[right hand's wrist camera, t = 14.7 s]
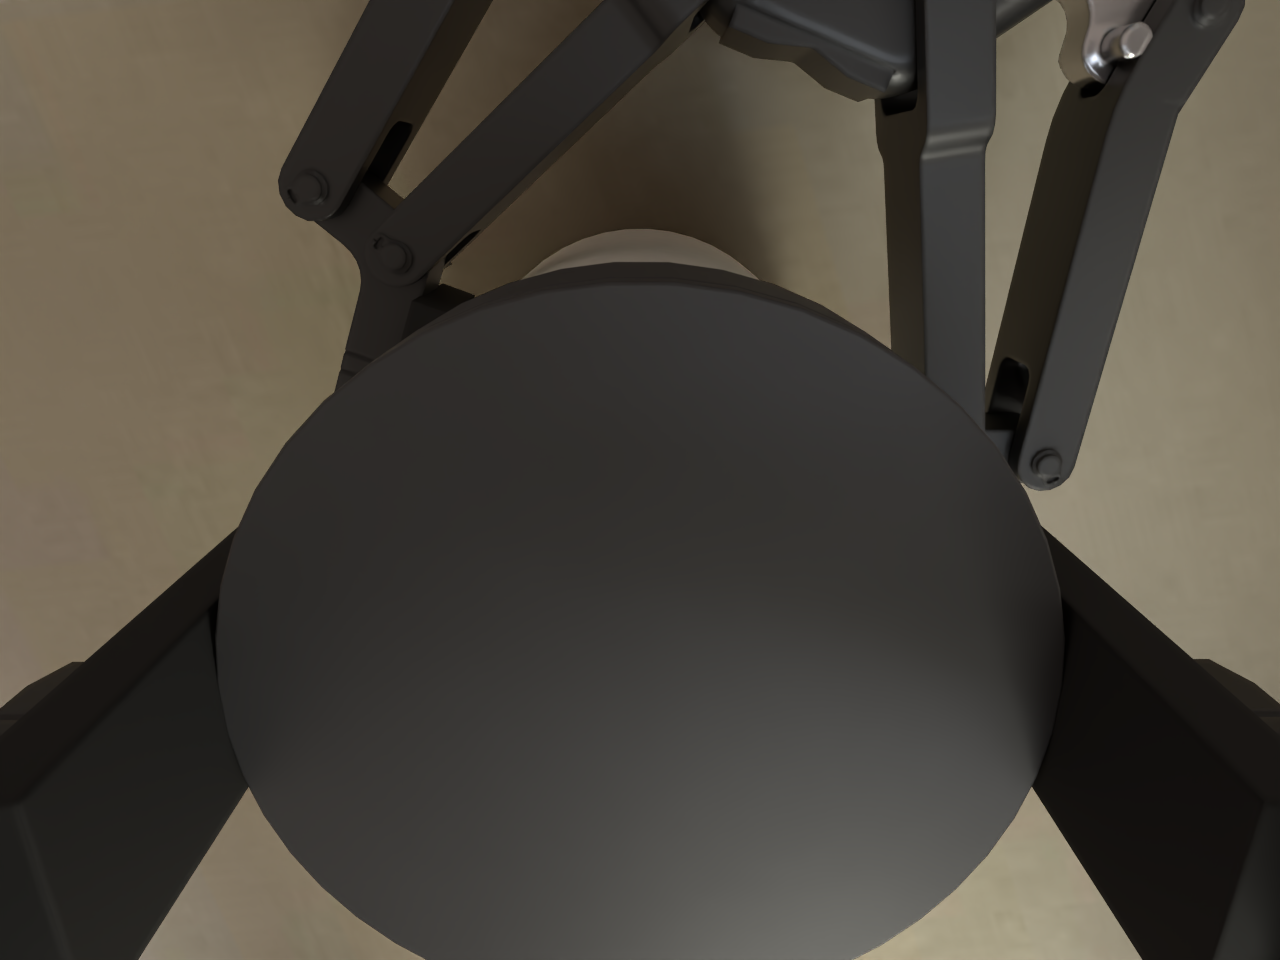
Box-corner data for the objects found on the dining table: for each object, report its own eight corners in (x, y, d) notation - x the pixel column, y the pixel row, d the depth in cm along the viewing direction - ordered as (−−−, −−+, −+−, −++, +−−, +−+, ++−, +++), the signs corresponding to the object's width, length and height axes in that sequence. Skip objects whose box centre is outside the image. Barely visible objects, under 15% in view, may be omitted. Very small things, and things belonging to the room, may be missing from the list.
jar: (556, 168, 23) (416, 157, 8) (858, 317, 24) (1173, 524, 10) (435, 465, 26) (179, 828, 11) (709, 583, 27) (786, 1036, 13)
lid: (308, 181, 10) (226, 184, 8) (1107, 349, 11) (1214, 390, 9) (269, 837, 14) (203, 952, 12) (873, 931, 14) (911, 1055, 12)
